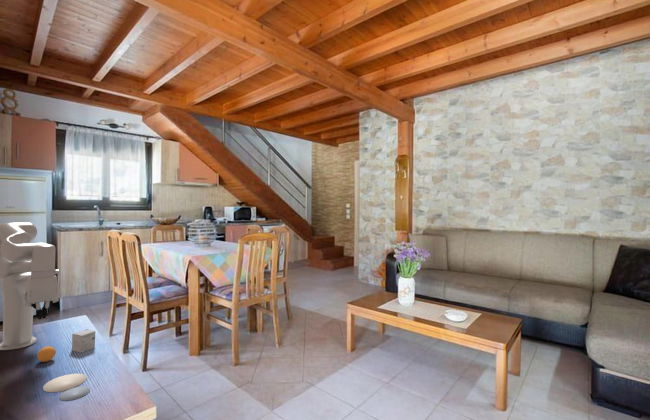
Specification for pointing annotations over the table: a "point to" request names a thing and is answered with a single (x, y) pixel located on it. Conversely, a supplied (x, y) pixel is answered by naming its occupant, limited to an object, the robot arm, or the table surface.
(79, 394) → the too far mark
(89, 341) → the skincare box
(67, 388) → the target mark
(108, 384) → the table surface
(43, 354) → the ball
